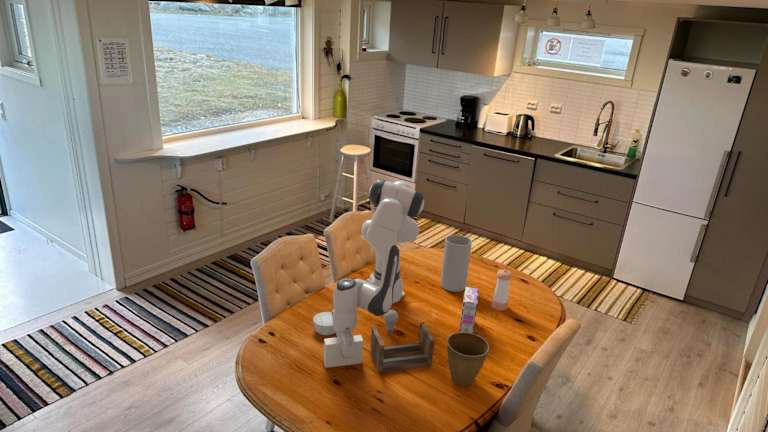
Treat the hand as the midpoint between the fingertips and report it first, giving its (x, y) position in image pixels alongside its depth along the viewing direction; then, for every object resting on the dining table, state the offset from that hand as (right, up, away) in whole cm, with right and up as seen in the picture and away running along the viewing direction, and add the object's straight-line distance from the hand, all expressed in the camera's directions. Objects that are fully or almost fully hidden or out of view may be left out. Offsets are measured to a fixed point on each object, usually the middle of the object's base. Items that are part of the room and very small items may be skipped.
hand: (343, 353), depth 201 cm
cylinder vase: (+49, +16, +64) cm, 82 cm away
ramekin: (-9, +4, +21) cm, 24 cm away
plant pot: (+44, -9, -4) cm, 45 cm away
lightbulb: (+18, +2, +21) cm, 28 cm away
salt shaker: (+69, +9, +48) cm, 85 cm away
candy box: (+51, +3, +29) cm, 59 cm away
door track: (+22, -4, +5) cm, 23 cm away
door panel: (0, -4, +1) cm, 4 cm away
